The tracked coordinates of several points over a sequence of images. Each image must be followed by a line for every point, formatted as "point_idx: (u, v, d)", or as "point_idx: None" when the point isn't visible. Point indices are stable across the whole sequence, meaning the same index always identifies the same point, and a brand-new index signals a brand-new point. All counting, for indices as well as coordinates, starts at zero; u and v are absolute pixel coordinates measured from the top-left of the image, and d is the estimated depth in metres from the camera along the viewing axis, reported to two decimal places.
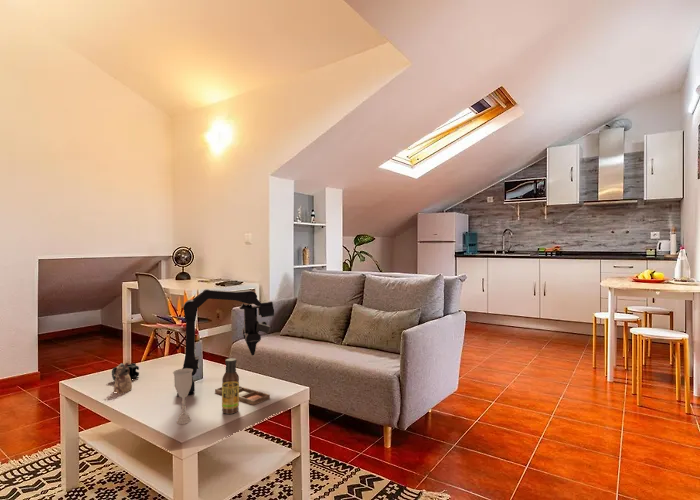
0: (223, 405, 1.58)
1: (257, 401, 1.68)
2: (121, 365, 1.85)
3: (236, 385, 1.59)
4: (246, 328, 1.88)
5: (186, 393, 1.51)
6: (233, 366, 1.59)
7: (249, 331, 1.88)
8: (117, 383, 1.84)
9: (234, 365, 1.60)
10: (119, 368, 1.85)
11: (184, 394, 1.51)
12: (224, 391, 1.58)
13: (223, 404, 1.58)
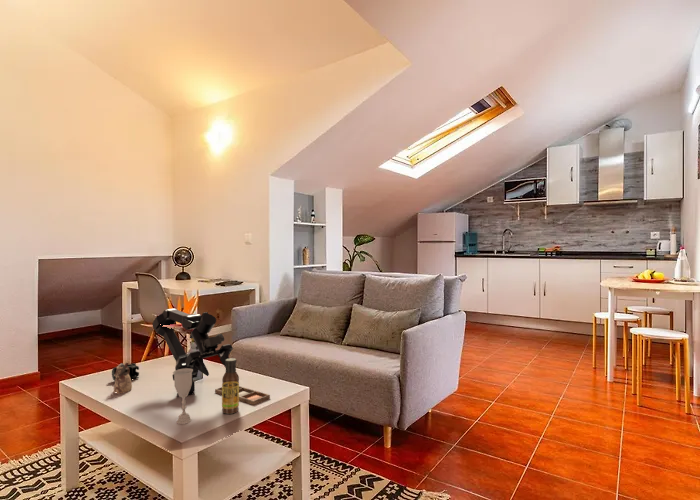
0: (223, 405, 1.58)
1: (257, 401, 1.68)
2: (121, 365, 1.85)
3: (236, 385, 1.59)
4: None
5: (186, 393, 1.51)
6: (233, 366, 1.59)
7: (201, 354, 1.69)
8: (117, 383, 1.84)
9: (234, 365, 1.60)
10: (119, 368, 1.85)
11: (184, 394, 1.51)
12: (224, 391, 1.58)
13: (223, 404, 1.58)
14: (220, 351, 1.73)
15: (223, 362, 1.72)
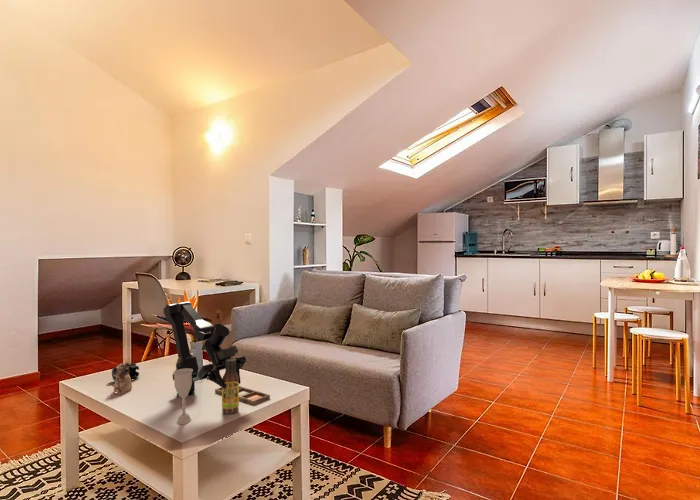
0: (223, 405, 1.58)
1: (257, 401, 1.68)
2: (121, 365, 1.85)
3: (236, 385, 1.59)
4: None
5: (186, 393, 1.51)
6: (233, 366, 1.59)
7: None
8: (117, 383, 1.84)
9: (234, 365, 1.60)
10: (119, 368, 1.85)
11: (184, 394, 1.51)
12: (224, 391, 1.58)
13: (223, 404, 1.58)
14: None
15: None
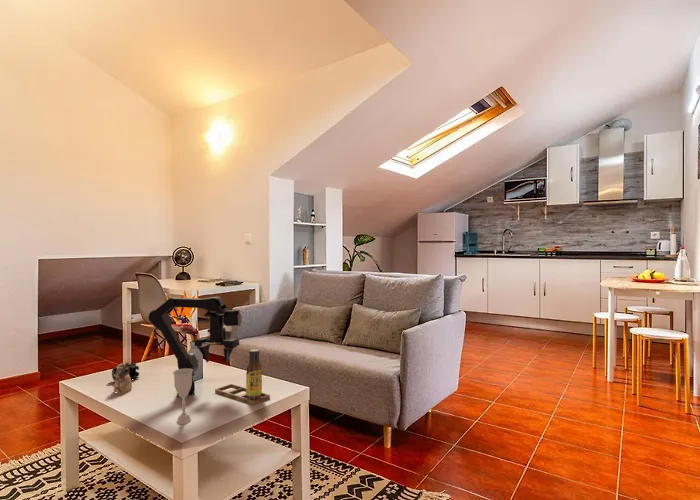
0: (250, 393, 1.70)
1: (257, 401, 1.68)
2: (121, 365, 1.85)
3: (261, 373, 1.72)
4: (217, 337, 1.79)
5: (186, 393, 1.51)
6: (258, 356, 1.72)
7: (220, 339, 1.80)
8: (117, 383, 1.84)
9: (258, 355, 1.73)
10: (119, 368, 1.85)
11: (184, 394, 1.51)
12: (251, 380, 1.70)
13: (250, 392, 1.70)
14: None
15: (205, 353, 1.82)
